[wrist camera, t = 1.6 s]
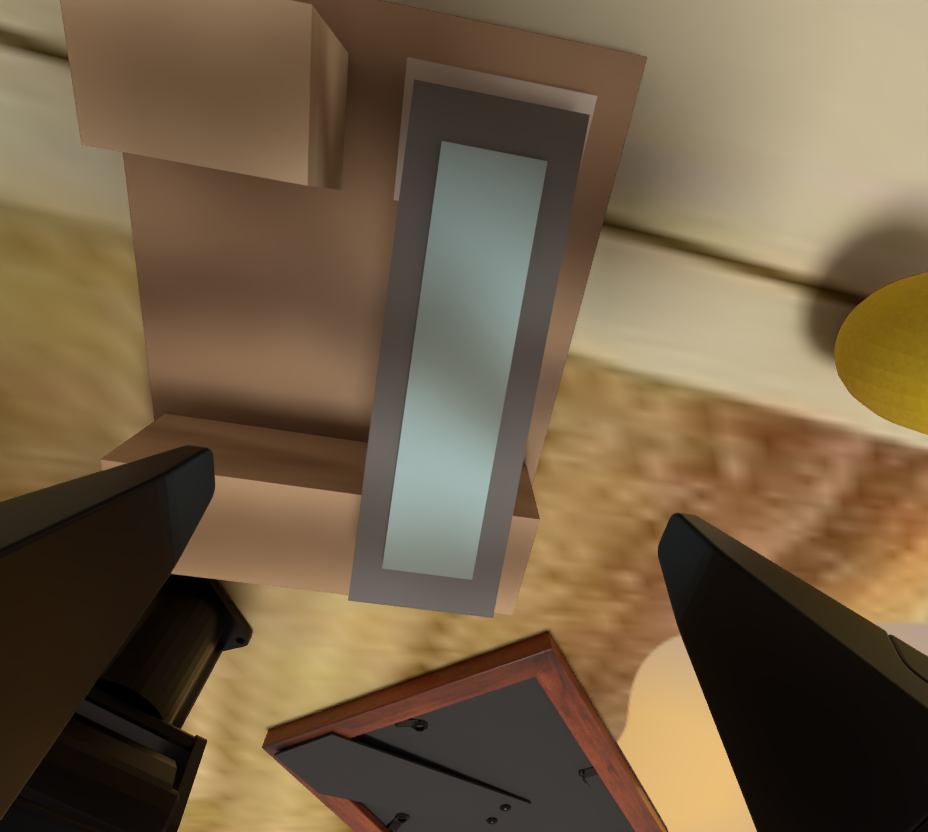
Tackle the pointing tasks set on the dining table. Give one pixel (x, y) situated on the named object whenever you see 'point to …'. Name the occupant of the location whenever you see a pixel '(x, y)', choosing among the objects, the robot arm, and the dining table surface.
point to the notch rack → (303, 240)
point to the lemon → (889, 352)
